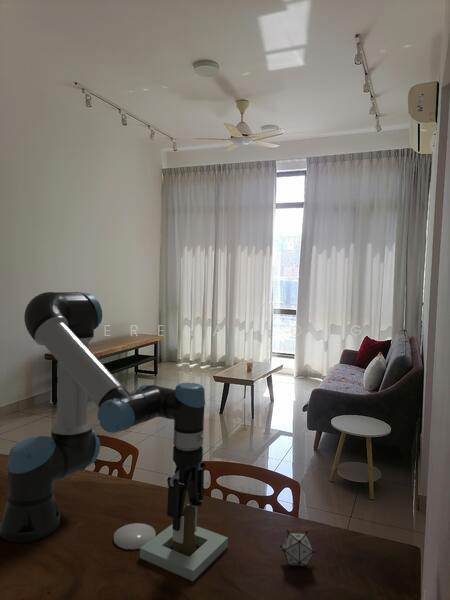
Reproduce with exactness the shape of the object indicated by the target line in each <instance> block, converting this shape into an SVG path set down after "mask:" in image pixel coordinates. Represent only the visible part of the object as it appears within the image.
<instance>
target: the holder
mask: <svg viewBox="0 0 450 600" xmlns="http://www.w3.org/2000/svg"><path fill="white" fill-rule="evenodd" d="M194 533H195V543H196V546H198V548H197V549H196V551H195V552H194V553H193V554H192V555H191V556H189V557H188V556H186V555H184V554H181V553H179V552H176V551H174V550H172V549H171V548H173V543H174V541H173V523H172V524H171V525H169V526H168V527H166V528H165V529H164V530H162V531H161V532H160V533H158V534H157V535H156V536H155V537H154V538H153V539H151V540H150V541H149V542H147V543H146V544H145V545H143V546H142V547H141V548H140V549H139V559H141V560H144V561H146V562H148V563H150V564H153V565H154V566H155V565H156V566H157V567H160V568H162V569H164V570H166V571H169V572H171V573H173V574H175V575H178V576H180V577H183V578H185V579H186V580H189V581H191V582H195V580H196V579H198V578H199V576H200V575H201V574H202V573H203V572H204V571H205V570H206V569H207V568H208V567H209V566H211V564H212V563H214V561H215V560H217V558H218V557H219V556H220V555H221V554H223V553H224V552H225V550H227V548H228V547H229V537H227V536H225V535H222V534H219V533H218V532H214V531H211V530H208V529H206V528H204V527H200V526H199V525H198V526H197V531H196V532H194Z"/></svg>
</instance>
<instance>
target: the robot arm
mask: <svg viewBox="0 0 450 600" xmlns="http://www.w3.org/2000/svg"><path fill="white" fill-rule="evenodd" d="M23 318H24V325H25V327H26V330H27V332H28V334H29V336H30V337H31V338H32V339H33V340H34V341H35V343H36V344H38V345H40V346H44V347H45V348H46V349H47V350H48V351H49V352H50V354H51V355H52V356H53V357H54V358H55V359H56V361H57V388H56V389H57V392H56V393H57V396H56V397H57V399H56V401H57V402H56V404H57V405H56V422H55V424H54V425H53V426H52V427H51V428H50V430H51V431H50V436H46V435H45V436H44V435H39V436H36V437H29V438H25V439H23V440H21V441H19V442H17V443H16V444H15V445H14V446H12V447H11V448H10V450H9V453H8V461H7V466H6V467H7V504H6V506H5V509H4V512H3V516H2V518H1V521H0V537H1V538H2V539H3V540H4V541H7V542H11V543H28V542H29V543H30V542H33V541H39V540H40V539H43V538H46V537H47V536H49V535H51V534H53V533H54V532H55V531H56V530H57V529H58V528H59V527H60V524H61V523H60V521H61V515H60V510H59V507H58V504H57V502H56V498H55V482H57V481H60V480H62V479H64V478H67V477H69V476H71V475H73V474H75V473H77V472H81V471H83V470H85V469H86V468H87V467H90V466H91V465H92V464H94V463H95V461H96V460H97V459H98V457H99V453H100V450H101V449H100V448H101V443H100V441H101V440H100V438H99V437H97V436H98V434H97V432H96V431H95V429H93V425H92V423H90V422H89V421H88V397H89V398H90V399H91V400H92V401H93V403H94V404H95V405H96V406H97V408H98V410H97V420H98V421H99V425H100V427H101V428H102V430H104V431H105V432H107V433H113V434H115V433H118V432H122V431H126V430H129V429H130V428H132V427H135V426H138V425H139V424H141V423H145V422H148V421H150V420H153V419H155V418H164V419H168V420H172V421H173V435H172V436H173V440H172V442H173V447H172V461H173V463H174V464H175V466H176V467H175V469H174V470H175V471H174V475H173V476H168V478H167V485H168V486H167V487H168V489H167V490H168V492H167V504H166V505H167V508H166V509H167V510H166V515H167V517H169V518H171V519H172V524H173V541H176V542H178V543H181V544H182V543H183V535H184V516H182V513H183V507H184V505H185V502H186V501H185V500H186V495H188V502H189V503H187V505H189V506H192V507H193V508H194V509H195V512H196V517H195V520H194V521H193V522H194V532H196V531H197V525H198V524H197V523H198V512H199V511H198V507H202V504H203V503H202V501H203V500H204V484H205V482H204V481H205V476H204V475H205V468H206V462H203V456H204V455H203V454H204V453H203V452H204V447H203V444H204V428H205V427H204V424H205V423H204V421H205V420H204V419H205V405H206V399H205V398H206V397H205V394H206V393H205V391H206V389H205V388H204V386H203V385H201V384H200V383H196V382H181V383H178V384H177V385H176V386H175V389H173V388H168V387H163V386H159V385H156V384H142V385H140V386H139V388H137V389H136V391H135V392H132V393H130V392H129V391H128V390H127V389H126V388H125V386H123V385H122V383H121V382H120V381H119V380H118V379H117V378H116V377H115V376H114V375H113V374H112V373H111V372H110V370H108V369H107V367H106V366H105V365H104V363H102V362H101V361H100V359H99V358H97V356H96V355H95V354H94V353H93V352H92V351H91V350H90V349H89V343H90V342H91V340H93V339H94V337H95V330H96V329H97V328H99V326H100V324H101V323H102V321H103V309H102V306H101V303H100V301H99V300H98V299H97V298H96V297H95V296H94V295H92V294H90V293H87V292H81V291H73V292H72V291H69V292H67V291H66V292H64V291H63V292H62V291H61V292H60V291H59V292H57V291H56V292H54V291H47V292H43V293H40V294H38V295H36V296H34V297H33V298H32V299H31V300H30V301H29V302H28V304H27V306H26V308H25V311H24V317H23Z"/></svg>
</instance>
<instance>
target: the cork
mask: <svg viewBox="0 0 450 600" xmlns="http://www.w3.org/2000/svg"><path fill="white" fill-rule="evenodd" d="M182 516H184V535H183V543H182V544H181V543H178V542H176V541H174V543H173V546H172V549H171V550H174V551H176V552H179V553H181V554H184V555H186V556H188V557H190V556H191V555H192V554H193V553H194V552H195V551H196V550H197V545H196V543H195V533H194V522H193V521H194V520H195V517H196V512H195V509H194V508H193V507H192V506H189V505H188V504H184V507H183V513H182Z"/></svg>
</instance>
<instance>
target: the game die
mask: <svg viewBox="0 0 450 600" xmlns="http://www.w3.org/2000/svg"><path fill="white" fill-rule="evenodd" d="M286 533H287V535H286V537H285V540H284V541H283V544H282V545H281V544H280V545H279V548H282V549H281V552H283V553H284V556H285V559H286V562H287V566H286V569H288V568H289V567H290V566H300V567H305V568H306V569H307V570H309V568H310V566H308V564H309V562H310V560H311V557H312V555H313V554H317V551H316V550H314V548H313V546H312V544H311V541H310V540H309V537H308V533H309V530H306V531H305V532H304V533H303V532H290V531H289V530H288V529H286Z"/></svg>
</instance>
